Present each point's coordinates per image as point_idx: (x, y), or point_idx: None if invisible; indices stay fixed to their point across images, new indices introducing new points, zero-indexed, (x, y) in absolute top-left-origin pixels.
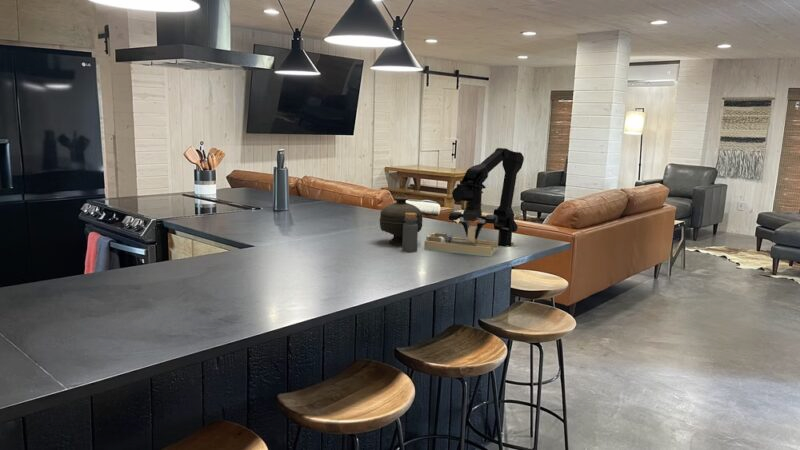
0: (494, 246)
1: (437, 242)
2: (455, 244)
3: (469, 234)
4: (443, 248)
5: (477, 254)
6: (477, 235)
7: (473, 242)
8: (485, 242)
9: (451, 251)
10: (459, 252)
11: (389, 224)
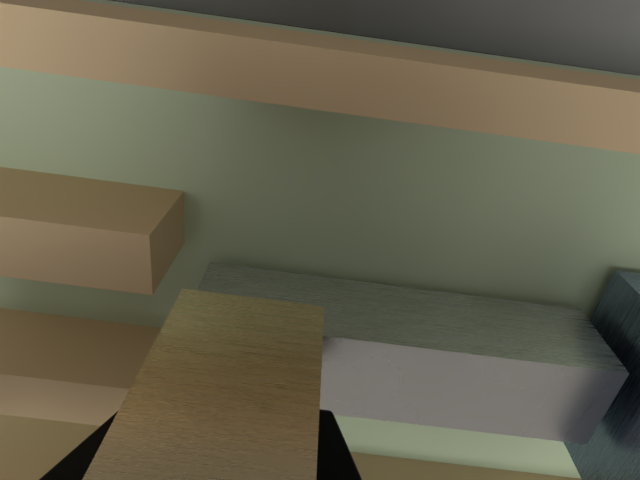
0: (5, 427)
1: None
2: (568, 84)
3: (267, 435)
4: None
5: (109, 2)
6: (82, 445)
7: (200, 298)
8: None
9: (575, 69)
10: (432, 48)
11: None
